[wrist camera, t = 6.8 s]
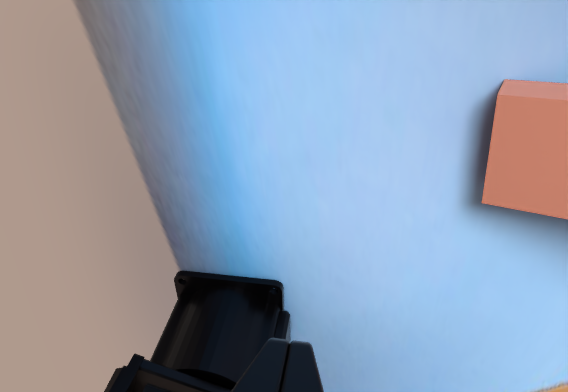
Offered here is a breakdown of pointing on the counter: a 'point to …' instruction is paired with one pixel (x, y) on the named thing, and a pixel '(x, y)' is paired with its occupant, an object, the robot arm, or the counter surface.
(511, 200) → the domino
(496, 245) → the counter surface
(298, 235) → the counter surface
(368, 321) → the counter surface
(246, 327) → the robot arm
